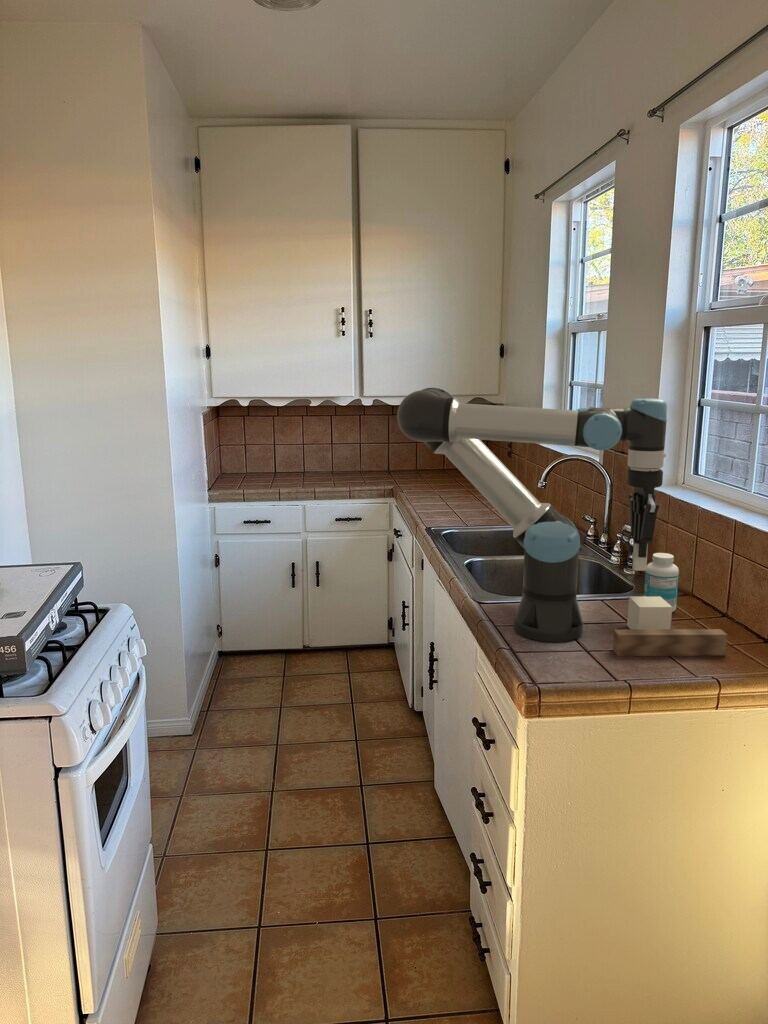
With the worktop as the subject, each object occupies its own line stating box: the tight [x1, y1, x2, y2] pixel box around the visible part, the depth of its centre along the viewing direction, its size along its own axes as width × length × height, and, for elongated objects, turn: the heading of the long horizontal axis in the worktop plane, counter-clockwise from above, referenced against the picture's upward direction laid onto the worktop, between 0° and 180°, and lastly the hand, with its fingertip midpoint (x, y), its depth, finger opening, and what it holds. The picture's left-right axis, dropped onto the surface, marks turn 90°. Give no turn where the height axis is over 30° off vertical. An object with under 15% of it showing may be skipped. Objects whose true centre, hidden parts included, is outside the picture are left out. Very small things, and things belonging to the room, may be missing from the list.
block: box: [626, 596, 673, 630], centre depth 162 cm, size 7×7×7 cm
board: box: [612, 628, 728, 657], centre depth 150 cm, size 22×3×4 cm, turn 90°
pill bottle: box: [643, 552, 680, 613], centre depth 175 cm, size 8×7×14 cm
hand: (639, 569), depth 169 cm, fingers closed
